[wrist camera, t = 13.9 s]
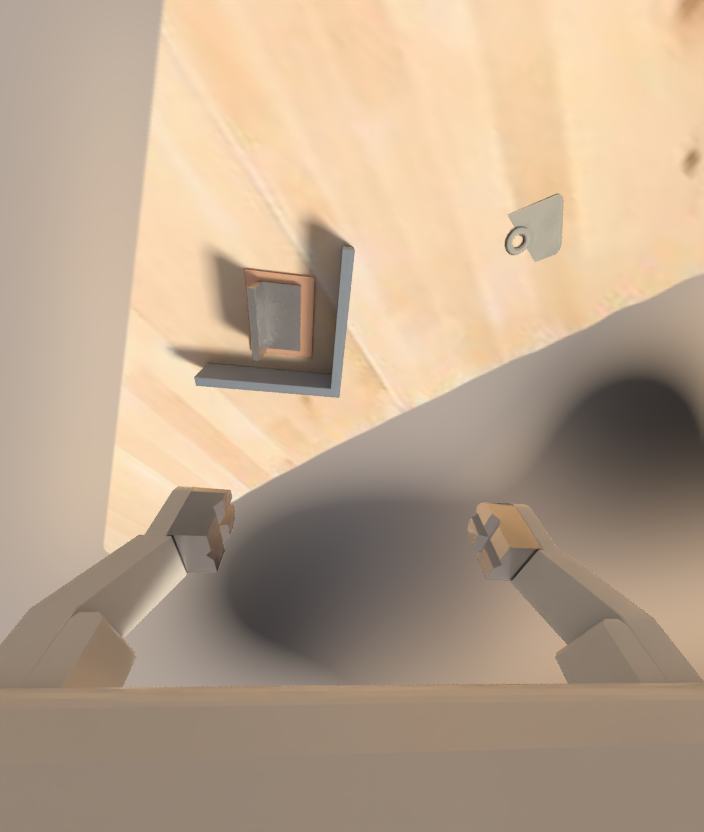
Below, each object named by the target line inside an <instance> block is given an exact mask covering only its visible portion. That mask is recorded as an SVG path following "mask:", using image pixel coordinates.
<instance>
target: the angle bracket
mask: <svg viewBox="0 0 704 832" xmlns="http://www.w3.org/2000/svg"><path fill="white" fill-rule="evenodd" d="M247 299H248V310H249V321H250V333H251V344H252V355H253V360H254V361H260V360H261V358H262V357H263V355H264V353H265V352H266V350H267V348H271V349H281V350H292V351H300V349H301V285H297V284H288V283H280V282H271V281H262V280H258V281H256V282H255V283H253V284H252V285H250V286H249V287H247Z"/></svg>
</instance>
